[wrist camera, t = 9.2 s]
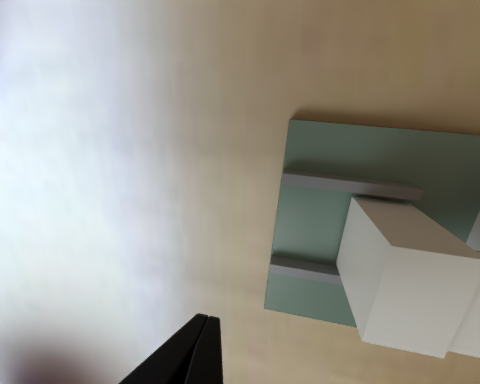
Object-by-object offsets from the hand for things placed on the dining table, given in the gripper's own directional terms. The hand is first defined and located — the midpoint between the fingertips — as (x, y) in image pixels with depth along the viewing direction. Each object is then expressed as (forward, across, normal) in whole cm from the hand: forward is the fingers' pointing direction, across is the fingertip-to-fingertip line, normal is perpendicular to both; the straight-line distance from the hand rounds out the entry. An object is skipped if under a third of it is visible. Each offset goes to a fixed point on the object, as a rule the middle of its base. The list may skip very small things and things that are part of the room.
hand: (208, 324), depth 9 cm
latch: (+7, -9, -1) cm, 12 cm away
